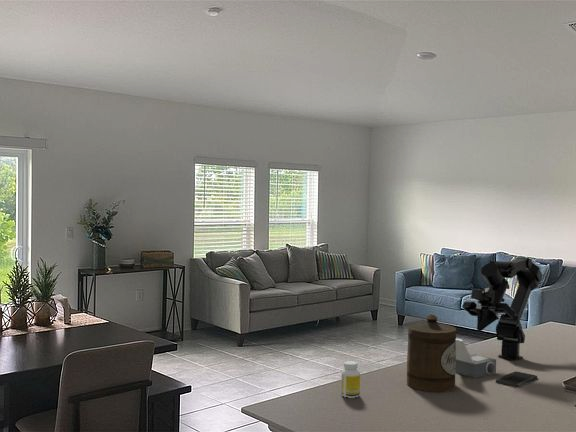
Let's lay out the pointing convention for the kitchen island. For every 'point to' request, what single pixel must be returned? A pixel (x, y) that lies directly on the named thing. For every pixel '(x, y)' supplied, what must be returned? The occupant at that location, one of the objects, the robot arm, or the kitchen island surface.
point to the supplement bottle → (350, 380)
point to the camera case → (477, 366)
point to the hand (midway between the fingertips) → (478, 330)
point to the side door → (462, 352)
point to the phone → (516, 379)
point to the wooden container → (431, 356)
